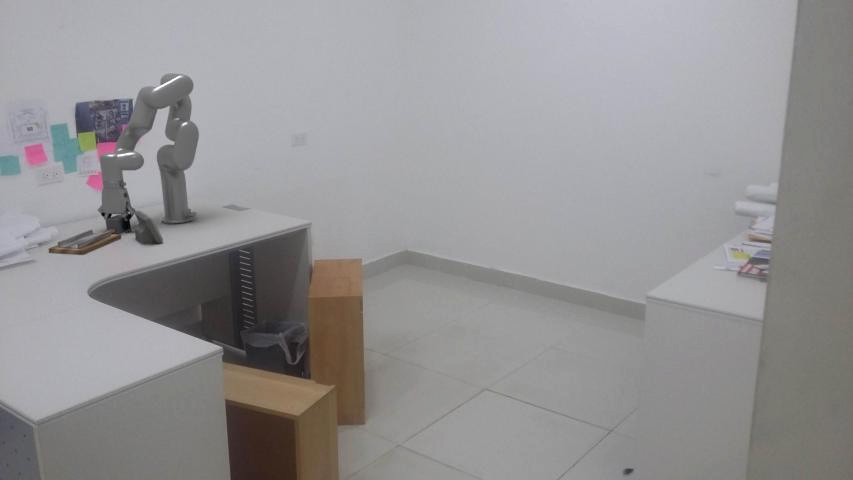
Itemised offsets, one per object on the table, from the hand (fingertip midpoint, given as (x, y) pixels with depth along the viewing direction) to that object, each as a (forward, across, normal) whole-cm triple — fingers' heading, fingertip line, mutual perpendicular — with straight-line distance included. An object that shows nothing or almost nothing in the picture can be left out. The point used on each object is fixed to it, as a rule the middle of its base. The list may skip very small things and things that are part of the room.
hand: (118, 229), depth 289 cm
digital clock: (+1, -19, +9) cm, 21 cm away
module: (+1, 0, 0) cm, 1 cm away
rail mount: (+1, 0, +20) cm, 20 cm away
